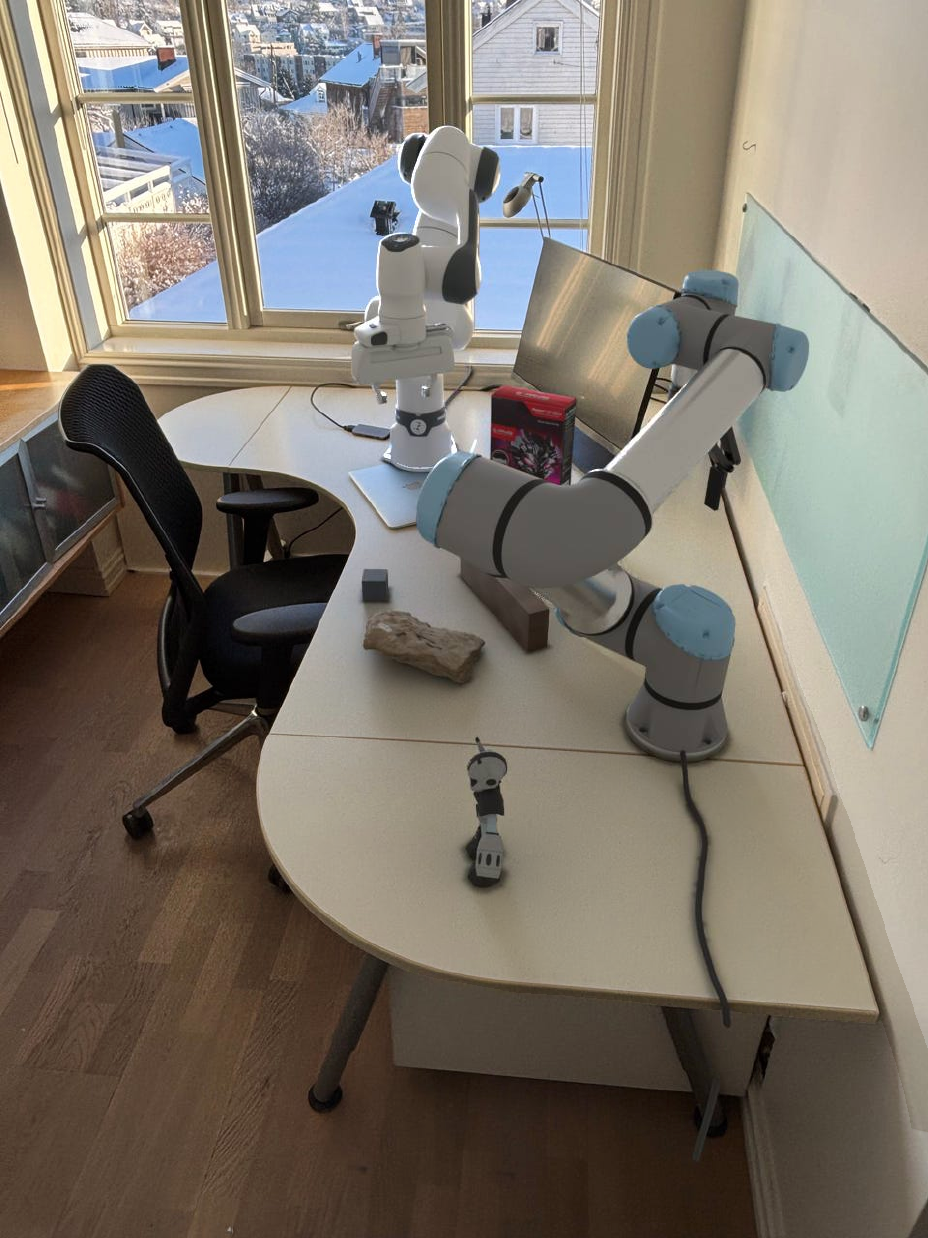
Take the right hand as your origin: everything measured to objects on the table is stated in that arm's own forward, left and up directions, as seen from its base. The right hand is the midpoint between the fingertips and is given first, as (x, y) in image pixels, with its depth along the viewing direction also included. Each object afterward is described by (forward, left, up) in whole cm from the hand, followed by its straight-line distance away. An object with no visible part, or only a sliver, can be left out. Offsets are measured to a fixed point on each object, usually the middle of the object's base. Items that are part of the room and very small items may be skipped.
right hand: (676, 515), depth 146 cm
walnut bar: (+6, +29, -27) cm, 40 cm away
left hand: (+30, +55, +2) cm, 63 cm away
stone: (-13, +39, -27) cm, 49 cm away
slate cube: (+4, +53, -27) cm, 59 cm away
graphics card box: (+44, +32, -27) cm, 61 cm away
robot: (-54, +17, -27) cm, 63 cm away
